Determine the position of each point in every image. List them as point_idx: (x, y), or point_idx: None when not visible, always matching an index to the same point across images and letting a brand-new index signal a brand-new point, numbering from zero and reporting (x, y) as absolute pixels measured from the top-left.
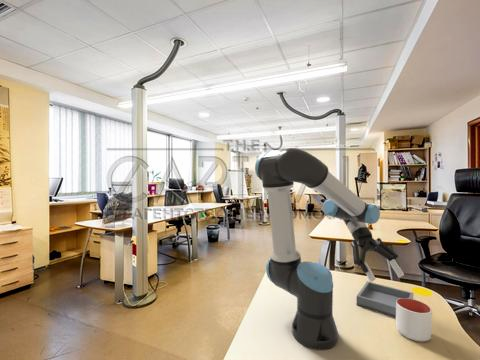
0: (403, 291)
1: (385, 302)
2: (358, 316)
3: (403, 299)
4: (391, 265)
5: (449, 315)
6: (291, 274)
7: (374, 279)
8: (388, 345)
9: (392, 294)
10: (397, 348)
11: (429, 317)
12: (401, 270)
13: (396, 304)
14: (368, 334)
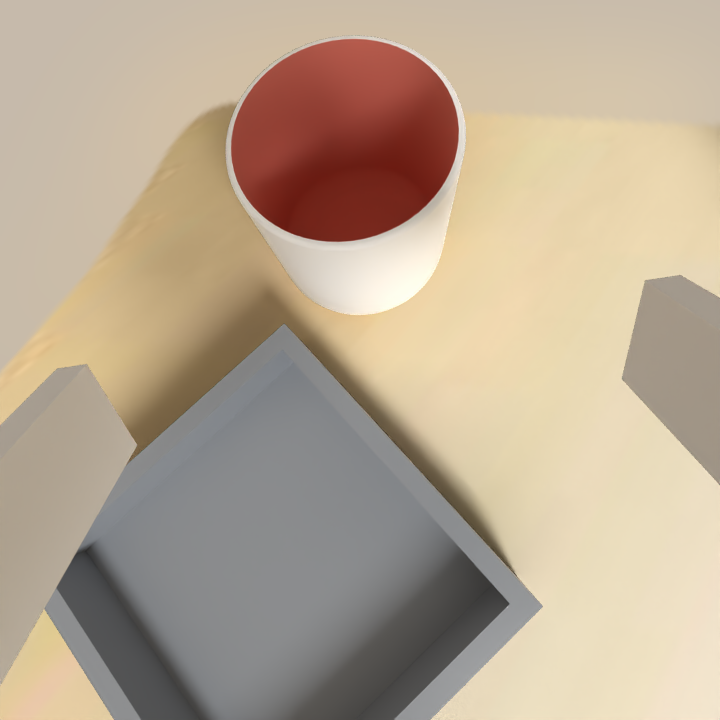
0: (68, 606)
1: (290, 550)
2: (582, 436)
3: (332, 247)
4: (11, 646)
5: (14, 369)
6: None
7: (653, 297)
8: (559, 177)
9: (148, 651)
10: (527, 156)
11: (315, 71)
12: (17, 414)
13: (454, 185)
14: (617, 262)
